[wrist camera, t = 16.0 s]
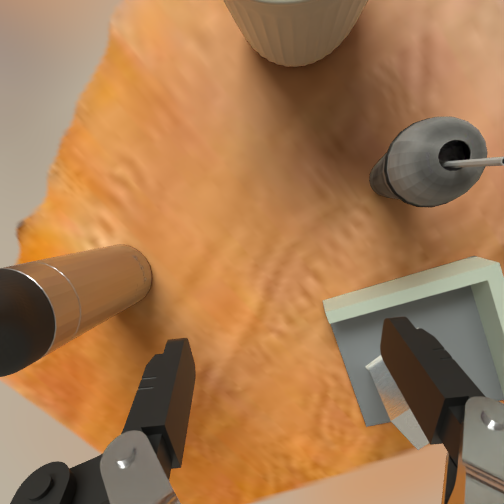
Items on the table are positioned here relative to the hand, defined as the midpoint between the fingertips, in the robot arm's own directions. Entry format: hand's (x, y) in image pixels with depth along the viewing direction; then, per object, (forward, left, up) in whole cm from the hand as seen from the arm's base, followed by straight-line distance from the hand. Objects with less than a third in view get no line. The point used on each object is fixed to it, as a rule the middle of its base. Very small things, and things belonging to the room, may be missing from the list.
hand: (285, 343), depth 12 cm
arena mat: (+11, -17, -27) cm, 34 cm away
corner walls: (+11, -17, -27) cm, 34 cm away
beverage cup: (+14, +5, -28) cm, 31 cm away
